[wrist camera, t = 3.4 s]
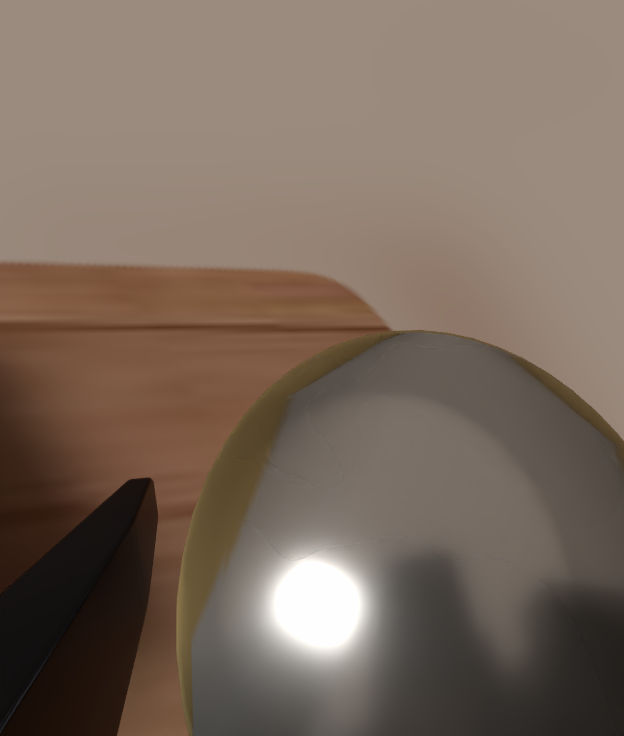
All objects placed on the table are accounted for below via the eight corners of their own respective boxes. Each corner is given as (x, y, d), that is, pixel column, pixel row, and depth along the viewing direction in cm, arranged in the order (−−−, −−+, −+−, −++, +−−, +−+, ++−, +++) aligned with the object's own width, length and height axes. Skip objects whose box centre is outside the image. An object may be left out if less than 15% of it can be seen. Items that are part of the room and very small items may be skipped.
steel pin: (362, 551, 14) (788, 597, 3) (275, 642, 12) (535, 1341, 2) (291, 463, 15) (440, 262, 4) (201, 539, 13) (44, 544, 2)
